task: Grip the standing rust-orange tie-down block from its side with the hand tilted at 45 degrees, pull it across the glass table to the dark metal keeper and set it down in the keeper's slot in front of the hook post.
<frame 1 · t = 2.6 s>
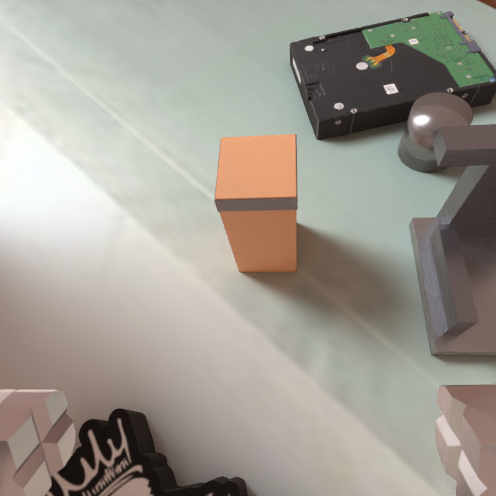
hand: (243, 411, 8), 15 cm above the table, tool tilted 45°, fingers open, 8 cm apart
disk drive: (381, 88, 34), on the table
tie down block: (268, 246, 27), on the table
keeper: (493, 284, 24), on the table
link stub: (424, 152, 30), on the table
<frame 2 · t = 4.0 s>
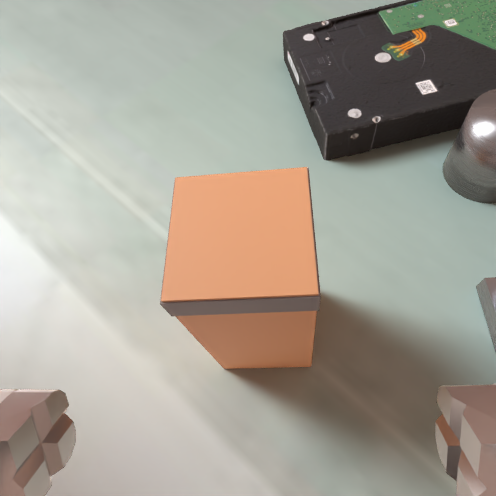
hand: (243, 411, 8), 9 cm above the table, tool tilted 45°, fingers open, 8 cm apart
disk drive: (407, 87, 26), on the table
tie down block: (266, 325, 18), on the table
link stub: (481, 173, 21), on the table
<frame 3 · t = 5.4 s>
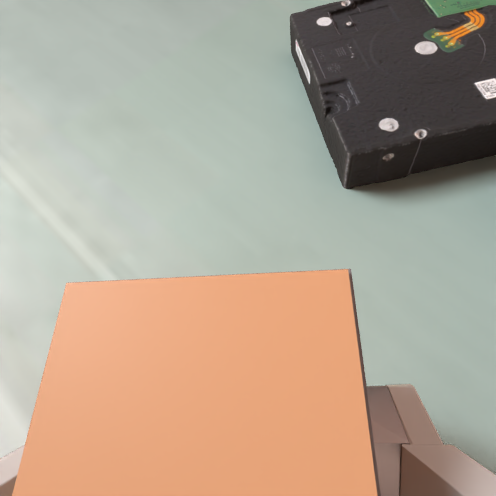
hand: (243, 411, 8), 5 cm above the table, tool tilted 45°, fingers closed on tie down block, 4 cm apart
disk drive: (454, 88, 19), on the table
tie down block: (264, 448, 12), on the table, touching gripper
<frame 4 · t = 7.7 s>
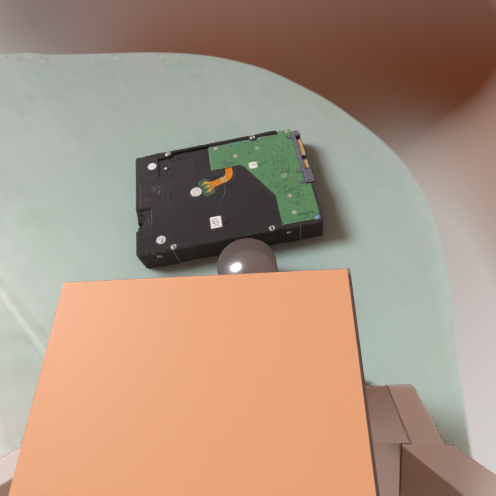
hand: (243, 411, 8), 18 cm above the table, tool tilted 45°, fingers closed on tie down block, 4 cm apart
disk drive: (228, 206, 34), on the table
tie down block: (264, 448, 12), point 13 cm above the table, touching gripper
link stub: (252, 286, 29), on the table
when the fingers open (7 cm above the table, at t = 10.0 s): tie down block drops 1 cm, resting on keeper.
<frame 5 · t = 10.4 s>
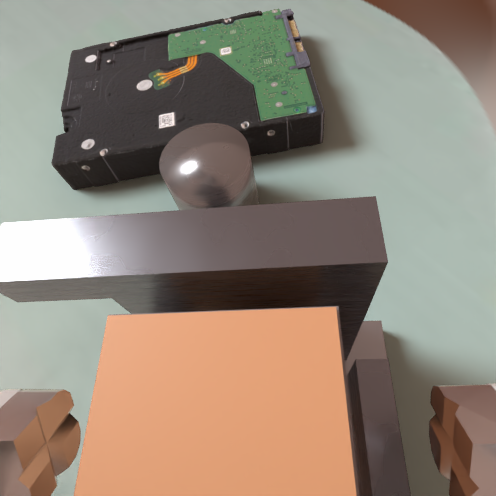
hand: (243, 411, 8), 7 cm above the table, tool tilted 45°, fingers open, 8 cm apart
disk drive: (194, 114, 25), on the table
tie down block: (267, 449, 13), point 1 cm above the table, touching keeper
keeper: (271, 448, 14), on the table
link stub: (221, 208, 20), on the table
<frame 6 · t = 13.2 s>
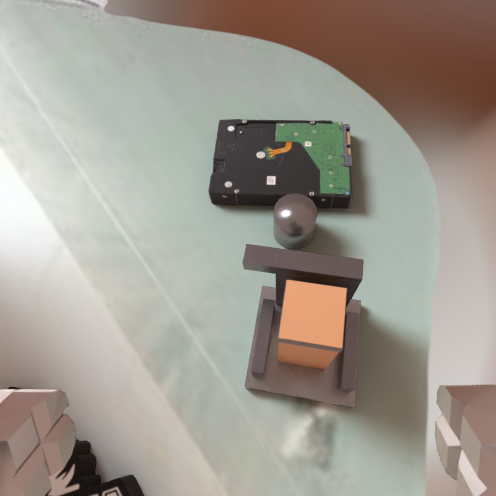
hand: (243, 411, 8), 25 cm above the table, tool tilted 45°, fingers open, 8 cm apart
disk drive: (281, 171, 43), on the table
tie down block: (304, 341, 33), point 1 cm above the table, touching keeper
keeper: (304, 344, 34), on the table
link stub: (293, 231, 39), on the table
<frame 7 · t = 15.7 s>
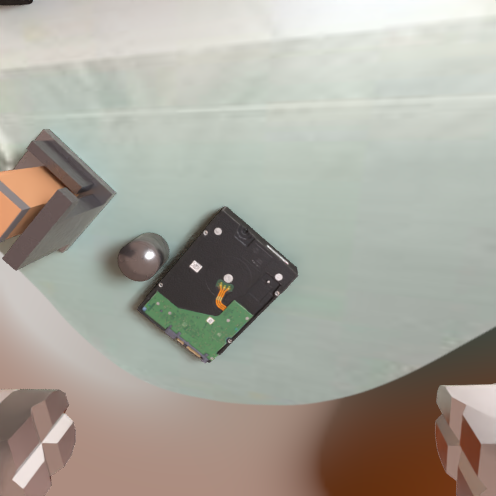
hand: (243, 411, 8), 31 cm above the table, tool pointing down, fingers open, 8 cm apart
disk drive: (219, 283, 42), on the table
tie down block: (53, 193, 39), point 1 cm above the table, touching keeper
keeper: (58, 192, 40), on the table
link stub: (151, 250, 41), on the table
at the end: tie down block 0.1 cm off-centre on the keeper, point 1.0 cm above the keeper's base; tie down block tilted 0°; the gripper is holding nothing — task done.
